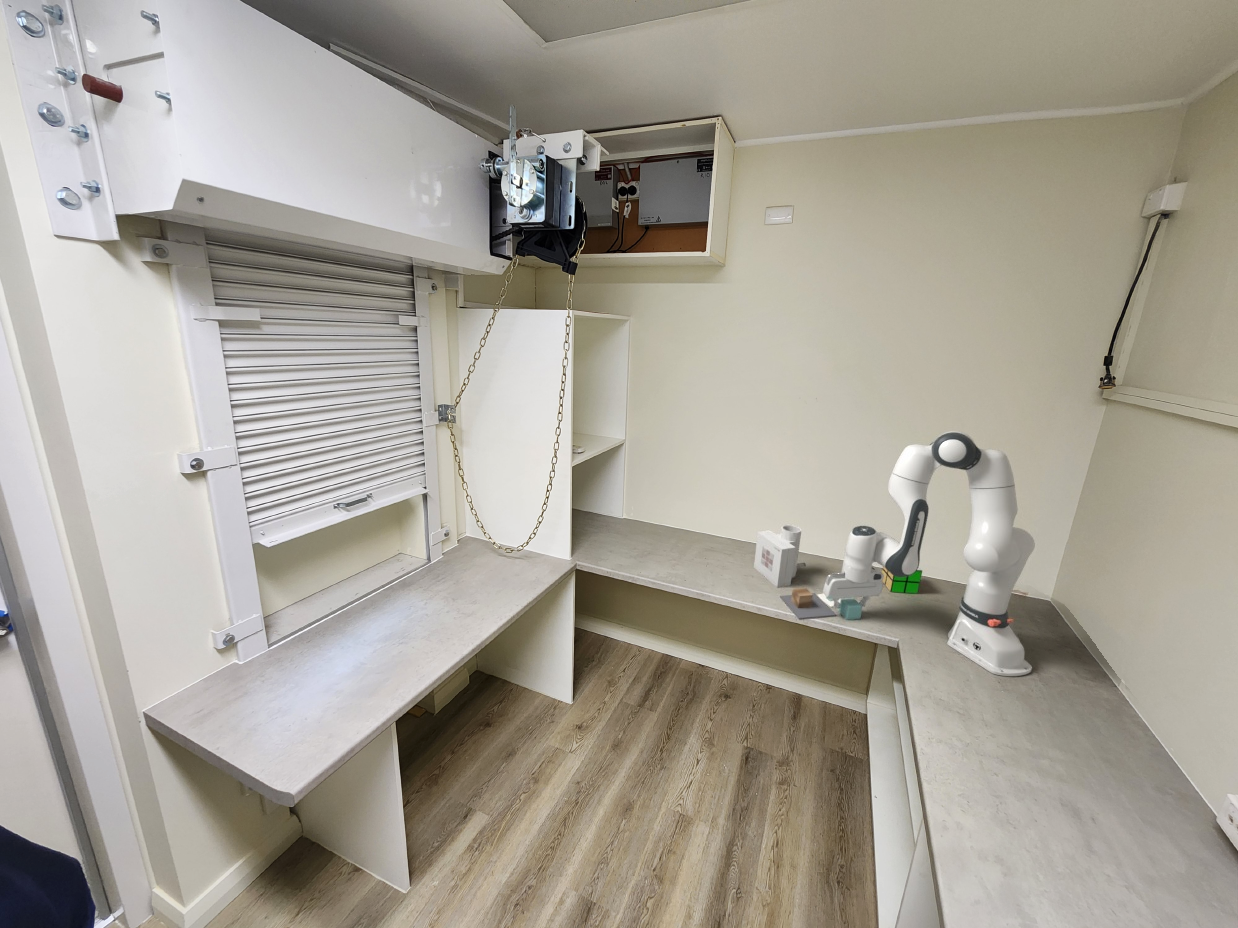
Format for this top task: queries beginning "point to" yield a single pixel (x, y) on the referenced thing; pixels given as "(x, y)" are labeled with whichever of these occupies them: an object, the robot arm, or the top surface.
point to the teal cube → (850, 609)
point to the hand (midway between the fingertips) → (849, 606)
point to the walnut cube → (801, 597)
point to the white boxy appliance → (778, 554)
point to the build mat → (809, 608)
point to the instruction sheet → (827, 600)
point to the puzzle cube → (902, 582)
